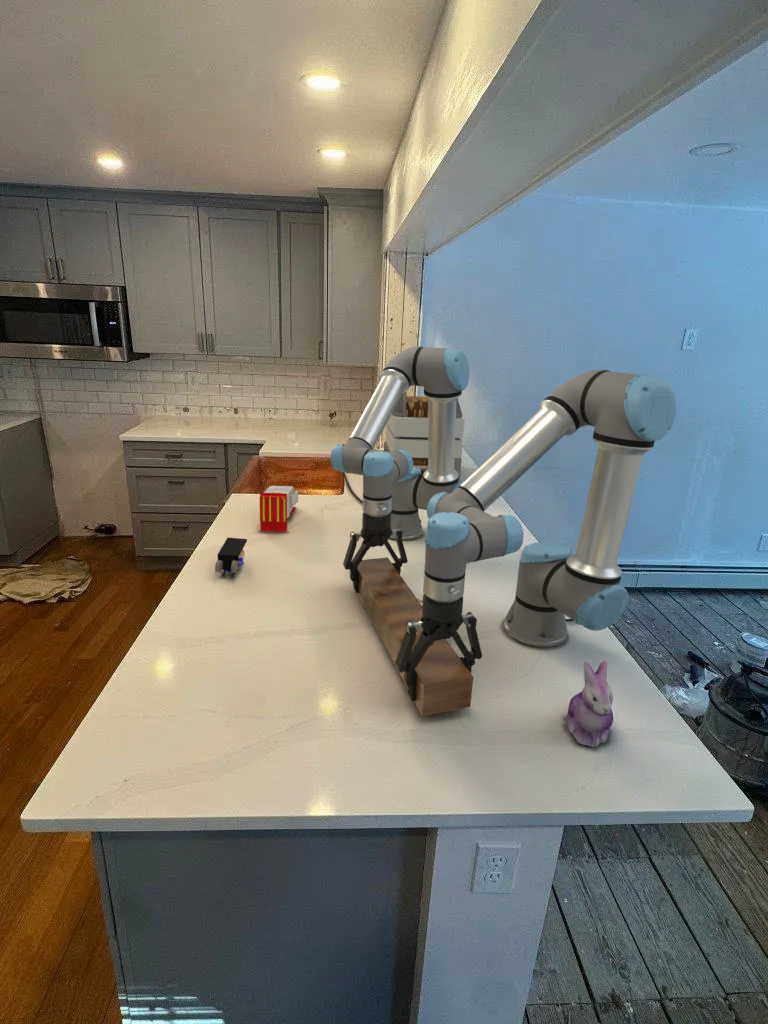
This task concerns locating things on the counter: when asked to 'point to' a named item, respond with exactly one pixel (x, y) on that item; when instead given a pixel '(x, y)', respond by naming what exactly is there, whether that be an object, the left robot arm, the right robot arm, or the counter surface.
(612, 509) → the right robot arm
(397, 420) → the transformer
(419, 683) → the wide beam
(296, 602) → the counter surface
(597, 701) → the figurine
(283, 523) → the toy
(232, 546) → the figurine character
